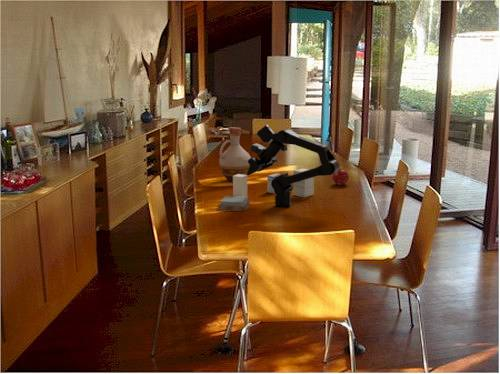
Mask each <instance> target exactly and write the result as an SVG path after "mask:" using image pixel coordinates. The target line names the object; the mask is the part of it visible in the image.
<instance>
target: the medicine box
mask: <svg viewBox="0 0 500 374" xmlns="http://www.w3.org/2000/svg"><path fill="white" fill-rule="evenodd" d="M280 174H281V173H279V172H278V173H274V174H273V173H272V174H270V175H267V193H269V194H275V192H274V189H273V188H272V185H271V182H272V180H273V179H274V178H275V177H276V176H278V175H280Z"/></svg>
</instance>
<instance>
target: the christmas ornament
mask: <svg viewBox="0 0 500 374" xmlns="http://www.w3.org/2000/svg"><path fill="white" fill-rule="evenodd" d="M349 175H350V174H349V172H348V171H347V170H345V169H343V167H342V166H340V168H339V170H338V171H337V172H335V173H334V174H332V180H333V183H335V184H336V185H338V186H343V185H345V184H347V182H349V178H350V177H349Z"/></svg>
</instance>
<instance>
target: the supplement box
mask: <svg viewBox="0 0 500 374" xmlns="http://www.w3.org/2000/svg"><path fill="white" fill-rule="evenodd" d="M306 170H309V168H298V169H296V170H293V174H296V173H300V172H303V171H306ZM314 178H315V177H312V178H309V179H305V180H302V181H299V182H295V183H293V195H294V196H297V197H301V198H308V197H310V196H315V195H314V193H315V188H314V187H315V184H314V183H315V179H314Z"/></svg>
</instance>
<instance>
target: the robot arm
mask: <svg viewBox="0 0 500 374" xmlns="http://www.w3.org/2000/svg"><path fill="white" fill-rule="evenodd" d="M255 135H256V136H257V137H258V138H259V139H260V140H261V141H262V142H263V143H264V144H268V145H267V146H266V147H265V146H263V145H262V144H259V143H253V144H252V145H250V147H249V148H250V151H251V152H252V153H255V154H256V156H257V157H258V158H259V159H258V158H257V157H256V156H254V157H251V158H250V159H249V160H248V163H249V164H250V167H249V169H248V172H247V177H248V176H250V175H252V174H254V173H256V172H258V173H259V172H261V171H264V170H267V169H268V168H270V167H272V166H274V165H276V164H277V162H278V158H277V157H278V154H279V153H280V152H281V151H282V152H286V151H288V145H292V146H294V145H295V146H297V147H300V148H303V149H305V150H308V151H310V152H313V153H316V154H317V155H318V157H319V161H320V165H318V166H316V167H313V168H310V169H309V168H308V169H309V170H306V171H303V172H300V173H296V174H294V173H293V174H289V172H288V171H287V172H285V173H279V174H280V175H278V176H276V177H275V178H274V179H273V180H272V182H271V185H272V188H273V189H274V192H275V193H274V194H275V195H274V204H275V207H277V208H290V207H291V205H292V202H291V199H292V195H291V193H292V192H293V190H294V185H292V184H294V183H295V182H299V181H302V180H305V179H309V178H312V177H314V178H316V177H318V176H319V177H321V176H331V175H332V176H333V174H334V173H335V172H337V171H338V170H339V169H340V167H341V166H340V163H339V161H338V160H336V157H335V156H334V154H333V153H332V152H331V150H330V149H329V147H328V145H326V144H323V143H320V142H316V141H314V140H311V139H308V138H306V137H303V136H300V134H298V133H297V132H296V131H293V130H292V129H290V128H285V129H281V130H279V131H277V132H275V131H274V130H273V129H272V128H271V127H270V125H268V124H266V125H264V126H263V127H261V128H260V129H259V130H258V131H257V132H256V134H255Z"/></svg>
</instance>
